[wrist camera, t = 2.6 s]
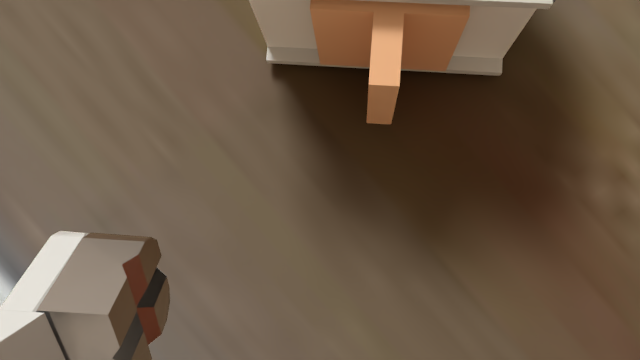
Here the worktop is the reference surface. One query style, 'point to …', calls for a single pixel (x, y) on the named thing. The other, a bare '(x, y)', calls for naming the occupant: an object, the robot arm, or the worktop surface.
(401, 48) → the side door
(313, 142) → the worktop surface
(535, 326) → the worktop surface
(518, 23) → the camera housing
